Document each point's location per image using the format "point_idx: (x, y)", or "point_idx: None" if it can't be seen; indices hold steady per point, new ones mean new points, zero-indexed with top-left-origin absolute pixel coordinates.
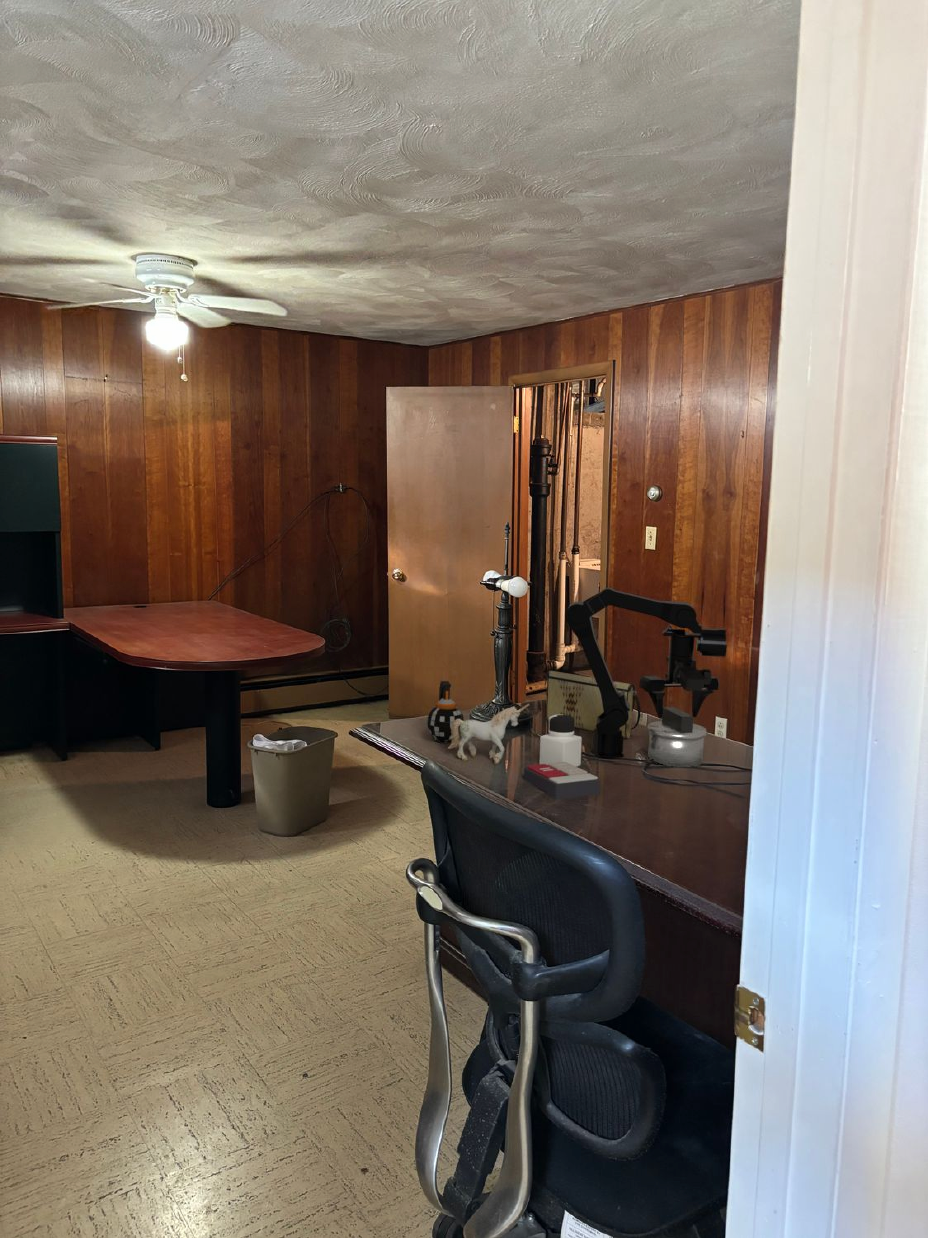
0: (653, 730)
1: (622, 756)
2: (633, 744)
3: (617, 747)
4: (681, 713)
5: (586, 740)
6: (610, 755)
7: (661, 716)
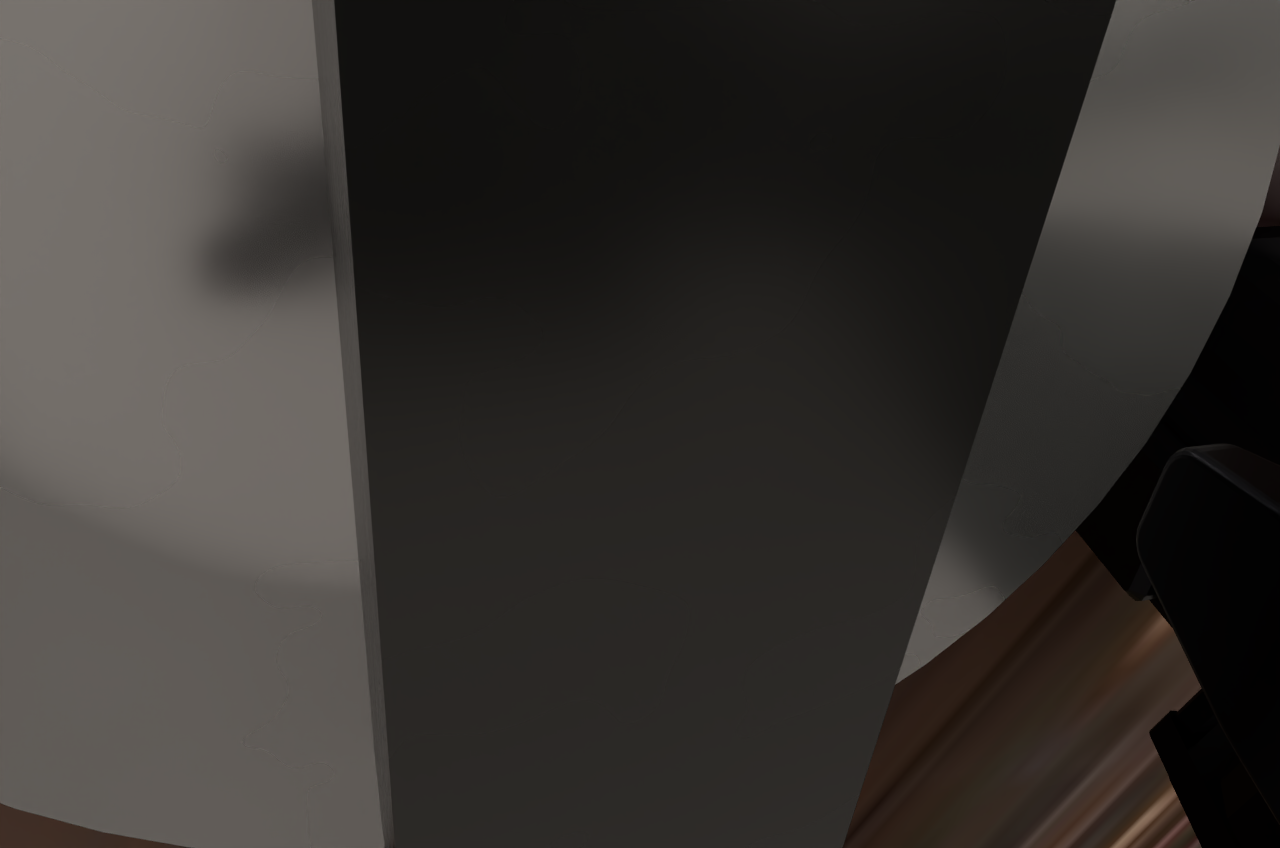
0: (1265, 173)
1: None
2: None
3: (1214, 342)
4: (675, 503)
5: (1004, 766)
6: (1271, 245)
7: (1259, 477)
